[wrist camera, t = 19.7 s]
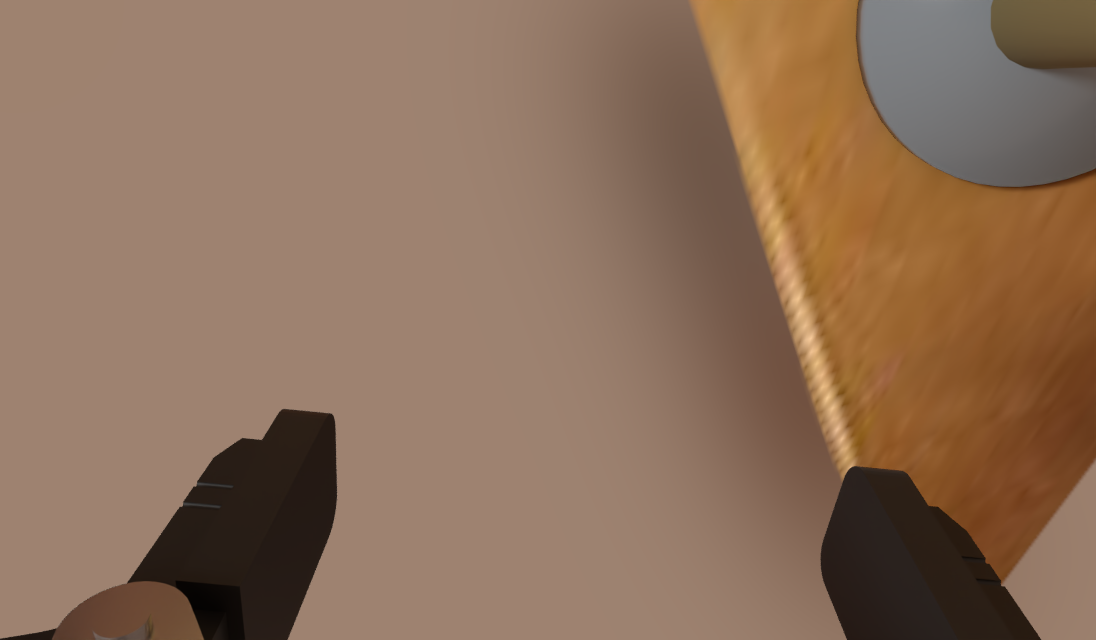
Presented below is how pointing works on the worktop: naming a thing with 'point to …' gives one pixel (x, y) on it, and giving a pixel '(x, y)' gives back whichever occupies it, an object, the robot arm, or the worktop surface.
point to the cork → (1046, 32)
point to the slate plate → (973, 95)
